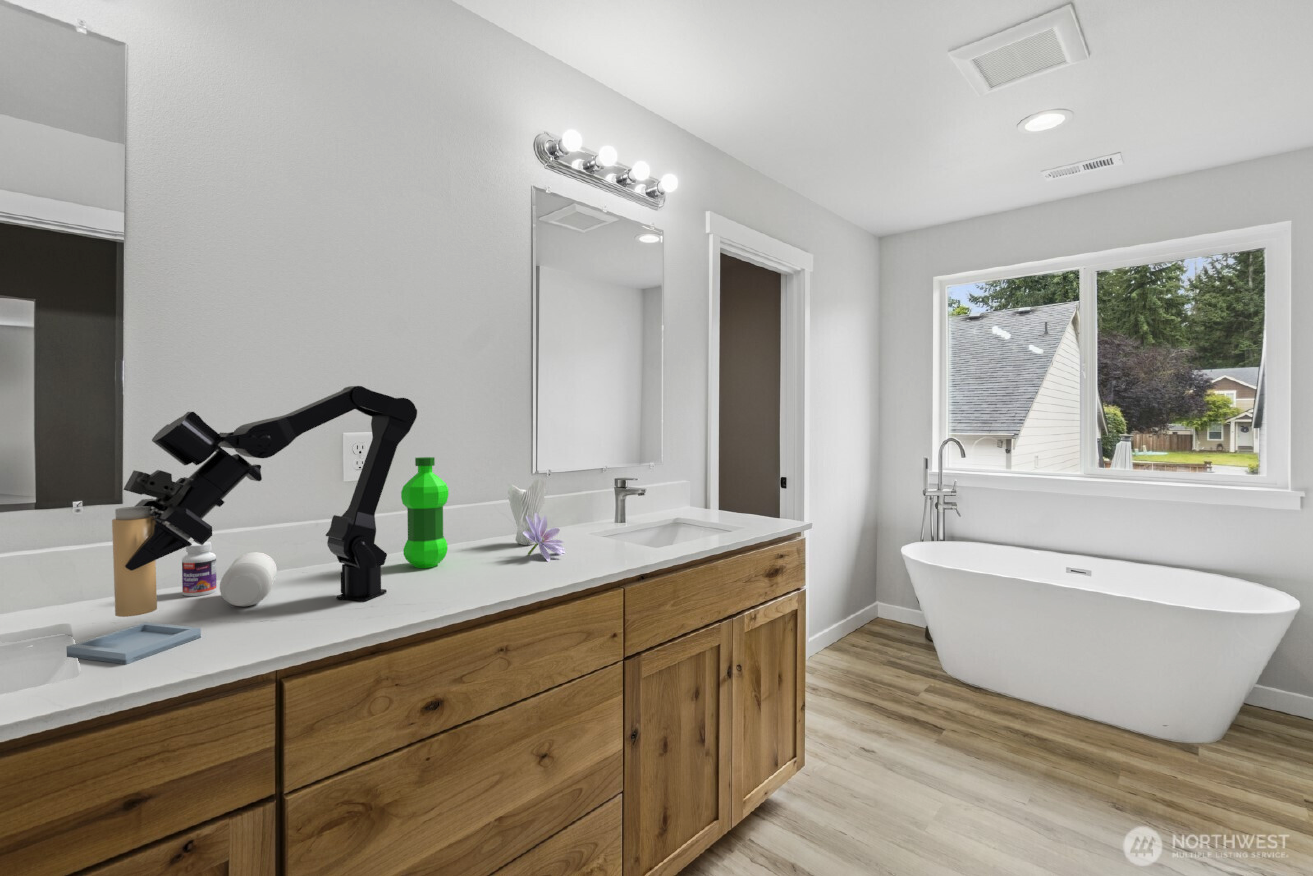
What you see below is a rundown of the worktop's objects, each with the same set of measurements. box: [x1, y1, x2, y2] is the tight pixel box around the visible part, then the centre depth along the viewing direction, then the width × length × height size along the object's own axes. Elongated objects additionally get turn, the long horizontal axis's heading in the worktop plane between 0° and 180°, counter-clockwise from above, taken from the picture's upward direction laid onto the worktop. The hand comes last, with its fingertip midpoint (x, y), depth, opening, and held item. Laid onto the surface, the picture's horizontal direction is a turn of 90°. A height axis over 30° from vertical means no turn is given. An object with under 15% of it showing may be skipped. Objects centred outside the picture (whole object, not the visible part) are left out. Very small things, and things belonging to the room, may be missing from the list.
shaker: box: [111, 505, 158, 618], centre depth 93 cm, size 5×5×16 cm
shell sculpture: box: [507, 477, 547, 546], centre depth 169 cm, size 8×8×18 cm
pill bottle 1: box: [181, 541, 217, 597], centre depth 122 cm, size 5×5×10 cm
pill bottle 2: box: [219, 551, 278, 608], centre depth 116 cm, size 8×8×15 cm
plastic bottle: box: [400, 456, 450, 569], centre depth 145 cm, size 10×10×25 cm
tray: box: [66, 621, 202, 665], centre depth 93 cm, size 11×11×2 cm
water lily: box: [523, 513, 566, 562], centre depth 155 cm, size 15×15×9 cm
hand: (123, 566), depth 92 cm, fingers closed on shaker, 5 cm apart
